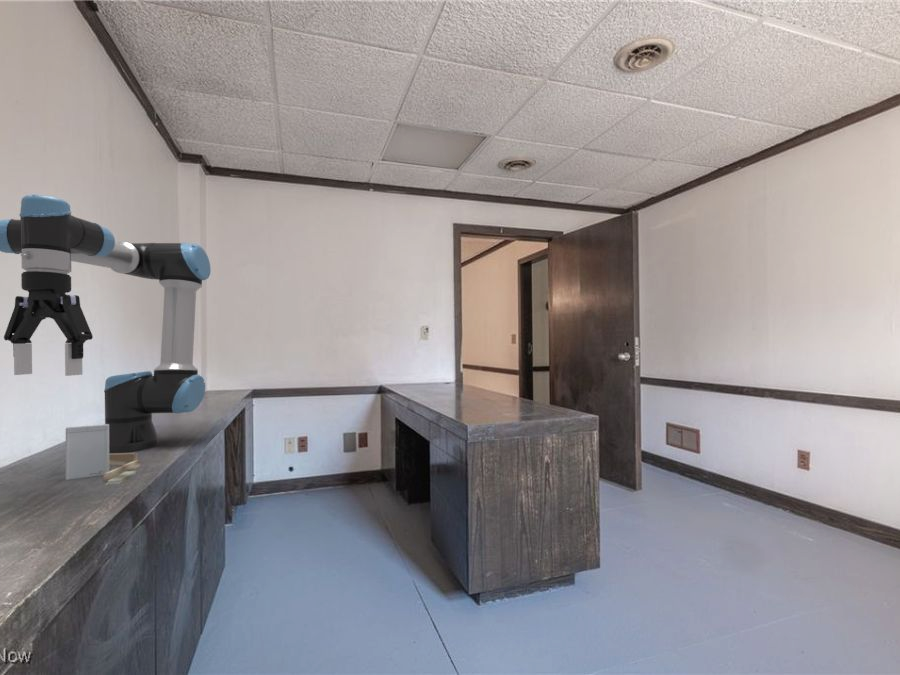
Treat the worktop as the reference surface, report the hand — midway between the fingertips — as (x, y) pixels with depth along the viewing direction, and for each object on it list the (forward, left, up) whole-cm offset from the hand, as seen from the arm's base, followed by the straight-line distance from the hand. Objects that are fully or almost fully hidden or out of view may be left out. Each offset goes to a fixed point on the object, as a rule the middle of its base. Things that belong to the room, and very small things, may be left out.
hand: (48, 375), depth 88 cm
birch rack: (-17, -4, -26) cm, 32 cm away
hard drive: (-17, -4, -27) cm, 32 cm away
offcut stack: (-14, +6, -27) cm, 31 cm away
